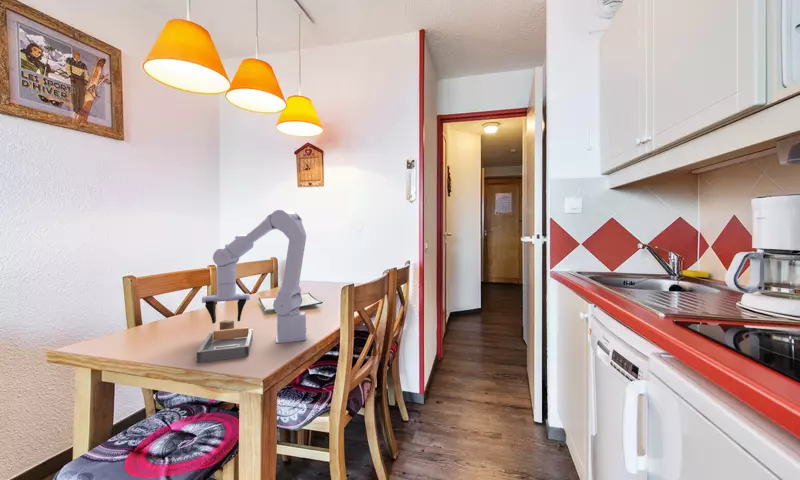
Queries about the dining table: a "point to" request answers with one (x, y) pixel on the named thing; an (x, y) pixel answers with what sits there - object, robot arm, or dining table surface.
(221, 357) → the housing
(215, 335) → the gate
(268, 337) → the dining table surface
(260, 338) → the dining table surface
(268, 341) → the dining table surface
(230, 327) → the brown rounded block
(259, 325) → the dining table surface
